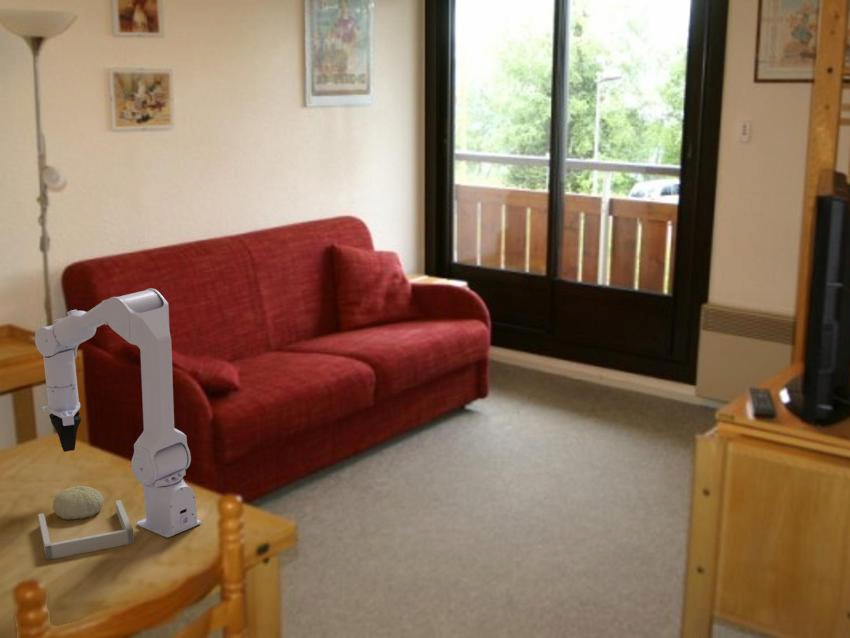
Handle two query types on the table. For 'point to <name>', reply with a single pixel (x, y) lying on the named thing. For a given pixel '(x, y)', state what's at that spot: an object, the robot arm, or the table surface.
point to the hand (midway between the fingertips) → (68, 449)
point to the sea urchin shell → (77, 502)
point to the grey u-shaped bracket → (88, 538)
